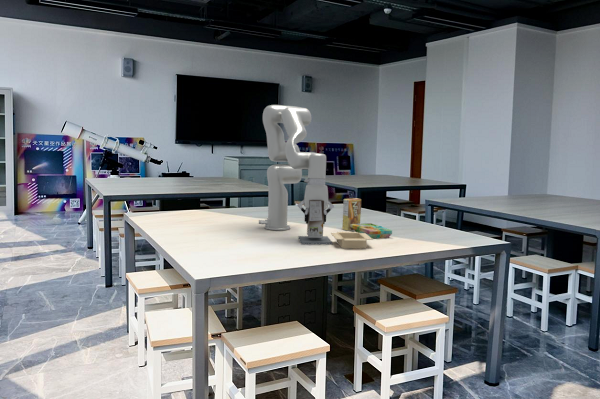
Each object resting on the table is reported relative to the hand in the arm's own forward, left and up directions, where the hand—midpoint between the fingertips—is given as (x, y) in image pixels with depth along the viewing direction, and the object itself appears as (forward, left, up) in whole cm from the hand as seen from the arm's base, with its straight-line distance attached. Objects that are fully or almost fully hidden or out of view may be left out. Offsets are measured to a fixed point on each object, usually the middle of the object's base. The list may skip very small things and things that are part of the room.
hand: (315, 223), depth 216 cm
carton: (+15, -7, -8) cm, 18 cm away
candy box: (+23, +31, -8) cm, 39 cm away
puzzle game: (+29, +17, -9) cm, 35 cm away
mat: (0, 0, -8) cm, 8 cm away
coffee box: (0, 0, -6) cm, 6 cm away
